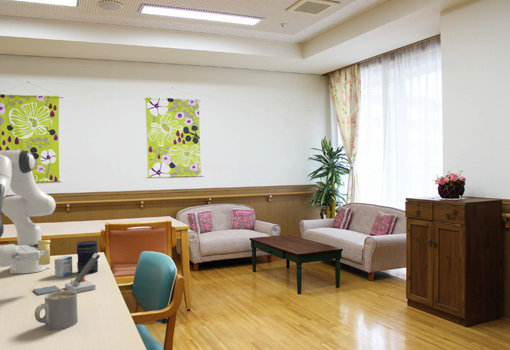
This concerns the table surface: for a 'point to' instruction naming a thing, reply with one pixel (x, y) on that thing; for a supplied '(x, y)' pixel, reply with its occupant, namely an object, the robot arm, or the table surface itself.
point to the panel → (80, 286)
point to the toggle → (86, 269)
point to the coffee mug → (58, 310)
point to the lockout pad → (46, 290)
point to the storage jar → (86, 255)
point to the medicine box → (63, 266)
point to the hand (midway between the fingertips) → (46, 250)
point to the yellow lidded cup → (44, 246)
